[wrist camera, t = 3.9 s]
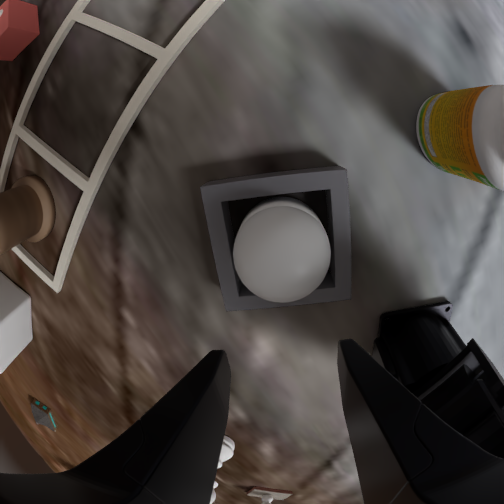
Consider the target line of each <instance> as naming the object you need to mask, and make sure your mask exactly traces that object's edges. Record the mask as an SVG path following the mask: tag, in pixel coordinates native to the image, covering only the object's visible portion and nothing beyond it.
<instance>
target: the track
mask: <svg viewBox="0 0 504 504" xmlns="http://www.w3.org/2000/svg"><path fill="white" fill-rule="evenodd" d="M90 1H91V0H78V1H77V3H76V4H75V5H74V7H73V8H72V10H71V11H70V13H69V14H68V16H67V17H66V19H65V20H64V22H63V23H62V25H61V26H60V28H59V30H58V31H57V33H56V35H55V36H54V38H53V40H52V41H51V43H50V45H49V47H48V48H47V50H46V52H45V54H44V56H43V58H42V60H41V61H40V63H39V65H38V67H37V69H36V71H35V74H34V76H33V78H32V80H31V82H30V84H29V86H28V89H27V91H26V93H25V96H24V98H23V101H22V103H21V106H20V108H19V111H18V113H17V116H16V119H15V122H14V124H13V127H12V130H11V133H10V136H9V140H8V143H7V146H6V149H5V153H4V157H3V160H2V164H1V168H0V193H1V192H4V189H5V185H6V181H7V176H8V173H9V169H10V165H11V162H12V158H13V155H14V151H15V148H16V145H17V142H18V139H19V137H20V138H21V139H22V140H23V141H24V142H25V143H27V144H28V145H29V146H30V147H31V148H32V149H33V150H35V151H36V152H37V153H38V154H39V155H40V156H42V157H43V158H44V159H45V160H46V161H47V162H49V163H50V164H51V165H52V166H53V167H54V168H56V169H57V170H58V171H59V172H60V173H62V174H63V175H64V176H65V177H66V178H68V179H69V180H70V181H71V182H73V183H74V184H75V185H76V186H77V187H79V188H80V189H81V190H82V191H84V192H83V194H82V197H81V199H80V202H79V204H78V207H77V209H76V212H75V214H74V217H73V220H72V223H71V225H70V228H69V231H68V234H67V237H66V240H65V243H64V246H63V249H62V252H61V255H60V259H59V262H58V266H57V269H56V273H55V276H53V275H52V274H51V273H50V272H49V271H47V270H46V269H45V268H44V267H43V266H42V265H41V264H40V263H39V262H38V261H37V260H36V259H35V258H34V257H33V256H32V255H31V254H30V253H28V252H27V251H26V250H25V249H24V248H23V247H22V246H21V244H18V245H17V246H15V247H13V248H12V250H13V251H14V252H15V253H16V254H17V255H18V256H19V257H20V258H21V259H22V260H23V261H24V262H25V263H26V264H27V265H28V266H29V267H30V268H31V269H32V270H33V271H34V272H35V273H36V274H37V275H38V276H39V277H40V278H41V279H42V280H43V281H45V282H46V283H47V284H48V285H49V286H50V287H51V288H52V289H53V290H54V291H56V292H57V293H58V292H60V291H61V289H62V285H63V282H64V279H65V276H66V272H67V269H68V266H69V263H70V260H71V257H72V254H73V251H74V249H75V246H76V243H77V240H78V238H79V235H80V232H81V230H82V227H83V225H84V222H85V220H86V217H87V215H88V212H89V210H90V208H91V205H92V203H93V201H94V198H95V196H96V194H97V192H98V189H99V187H100V185H101V183H102V181H103V179H104V177H105V175H106V173H107V170H108V168H109V166H110V164H111V163H112V161H113V159H114V157H115V155H116V153H117V151H118V149H119V147H120V145H121V144H122V142H123V140H124V138H125V136H126V135H127V133H128V131H129V129H130V128H131V126H132V124H133V122H134V121H135V119H136V117H137V116H138V114H139V112H140V111H141V109H142V108H143V106H144V104H145V103H146V101H147V100H148V98H149V97H150V95H151V94H152V92H153V90H154V89H155V87H156V86H157V85H158V83H159V82H160V80H161V79H162V77H163V76H164V74H165V73H166V72H167V70H168V69H169V67H170V66H171V65H172V63H173V62H174V61H175V59H176V58H177V57H178V55H179V54H180V53H181V51H182V50H183V49H184V48H185V46H186V45H187V44H188V42H189V41H190V40H191V39H192V38H193V36H194V35H195V34H196V33H197V32H198V30H199V29H200V28H201V27H202V26H203V24H204V23H205V22H206V21H207V20H208V19H209V18H210V16H211V15H212V14H213V13H214V12H215V11H216V10H217V9H218V8H219V7H220V6H221V5H222V3H223V2H224V1H225V0H206V1H205V2H204V3H203V4H202V5H201V6H200V7H199V8H198V9H197V11H196V12H195V13H194V14H193V15H192V16H191V17H190V19H189V20H188V21H187V22H186V23H185V24H184V26H183V27H182V28H181V29H180V30H179V32H178V33H177V34H176V35H175V37H174V38H173V39H172V41H171V42H170V43H169V44H168V46H167V47H166V48H163V47H161V46H159V45H157V44H155V43H153V42H151V41H149V40H146V39H144V38H142V37H140V36H138V35H136V34H134V33H132V32H129V31H127V30H125V29H123V28H120V27H118V26H116V25H113V24H111V23H108V22H106V21H103V20H101V19H98V18H96V17H93V16H90V15H88V14H85V13H82V12H83V10H84V9H85V7H86V6H87V5H88V3H89V2H90ZM76 21H77V22H79V23H82V24H84V25H87V26H89V27H92V28H94V29H96V30H99V31H101V32H103V33H105V34H108V35H110V36H112V37H114V38H116V39H119V40H121V41H123V42H125V43H127V44H129V45H131V46H133V47H135V48H137V49H139V50H141V51H143V52H145V53H147V54H149V55H151V56H153V57H155V58H156V59H157V61H156V62H155V63H154V65H153V66H152V68H151V69H150V71H149V72H148V73H147V75H146V76H145V78H144V79H143V81H142V82H141V84H140V86H139V87H138V89H137V90H136V92H135V93H134V95H133V97H132V98H131V100H130V101H129V103H128V105H127V106H126V108H125V110H124V112H123V113H122V115H121V117H120V118H119V120H118V122H117V124H116V126H115V127H114V129H113V131H112V133H111V135H110V137H109V139H108V141H107V143H106V144H105V146H104V148H103V150H102V152H101V154H100V156H99V159H98V161H97V163H96V165H95V167H94V169H93V171H92V173H91V176H90V178H88V177H87V176H86V175H85V174H83V173H82V172H81V171H80V170H78V169H77V168H76V167H74V166H73V165H72V164H71V163H69V162H68V161H67V160H66V159H64V158H63V157H62V156H61V155H59V154H58V153H57V152H56V151H55V150H53V149H52V148H51V147H50V146H48V145H47V144H46V143H45V142H44V141H42V140H41V139H40V138H39V137H37V136H36V135H35V134H34V133H33V132H31V131H30V130H29V129H28V128H27V127H26V126H24V122H25V119H26V117H27V114H28V112H29V109H30V107H31V104H32V102H33V100H34V97H35V95H36V93H37V90H38V88H39V86H40V84H41V82H42V80H43V78H44V76H45V74H46V72H47V70H48V68H49V66H50V64H51V62H52V60H53V58H54V57H55V55H56V53H57V51H58V49H59V48H60V46H61V44H62V43H63V41H64V39H65V38H66V36H67V34H68V33H69V31H70V30H71V28H72V26H73V25H74V23H75V22H76Z"/></svg>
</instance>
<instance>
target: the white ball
mask: <svg viewBox="0 0 504 504" xmlns="http://www.w3.org/2000/svg"><path fill="white" fill-rule="evenodd" d="M233 258H234V265H235V269H236V271H237V274H238V276H239V278H240V279H241V281H242V282H243V284H244V285H245V286H246V287H247V288H248V289H249V290H250V291H251V292H252V293H254V294H255V295H257V296H258V297H260V298H262V299H265V300H268V301H272V302H279V303H285V302H292V301H296V300H299V299H302V298H304V297H306V296H307V295H309V294H310V293H312V292H313V291H314V290H315V289H316V288H317V287H318V286H319V285H320V284H321V282H322V281H323V279H324V278H325V276H326V273H327V271H328V268H329V265H330V259H331V249H330V243H329V239H328V236H327V234H326V231H325V229H324V227H323V225H322V223H321V221H320V219H319V217H318V216H317V214H316V213H315V212H314V210H313V209H312V208H310V207H309V206H308V205H307V204H305V203H304V202H302V201H300V200H297V199H294V198H290V197H273V198H269V199H266V200H264V201H262V202H260V203H258V204H257V205H255V206H254V207H253V208H252V209H251V210H250V211H249V212H248V213H247V214H246V216H245V217H244V219H243V221H242V224H241V226H240V228H239V231H238V233H237V236H236V239H235V243H234V248H233Z"/></svg>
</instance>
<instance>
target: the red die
mask: <svg viewBox="0 0 504 504" xmlns="http://www.w3.org/2000/svg"><path fill="white" fill-rule="evenodd" d="M39 34H40V32H39V22H38V9H37V6H36V5H33V4H30V3H27V2H23V1H20V0H6V1H5V2H4V3H3V4H2V5H1V6H0V60H5V61H13V60H14V59H15V58H16V57H17V56H18V54H19V53H20V52H21V51H22V50H23V49H24V48H25V47H26V46H28V45H29V44H30V43H31V42H32V41H33V40H34V39H35V38H36V37H37V36H38V35H39Z"/></svg>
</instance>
